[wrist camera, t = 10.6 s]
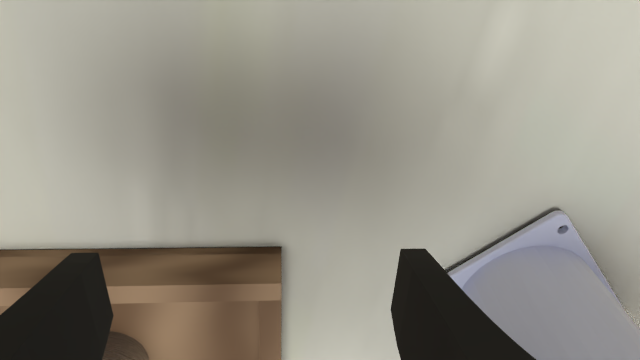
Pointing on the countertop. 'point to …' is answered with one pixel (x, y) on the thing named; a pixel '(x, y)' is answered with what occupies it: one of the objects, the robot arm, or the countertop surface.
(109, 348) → the steel shaker
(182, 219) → the countertop surface
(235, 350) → the walnut tray
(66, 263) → the robot arm
